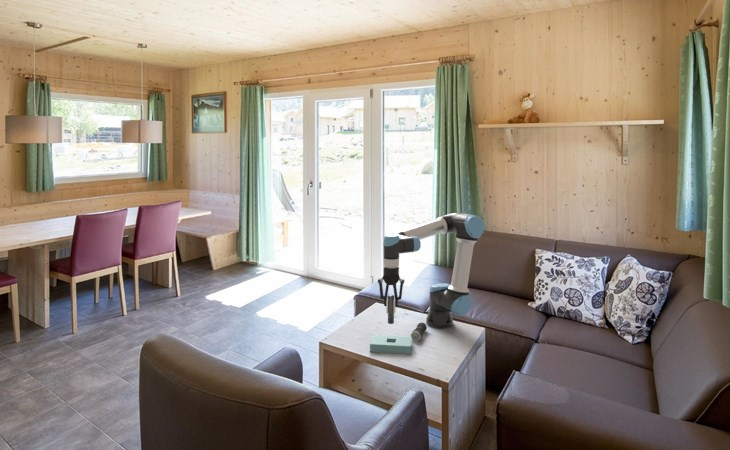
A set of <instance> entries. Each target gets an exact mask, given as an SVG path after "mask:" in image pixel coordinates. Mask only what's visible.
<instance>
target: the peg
mask: <svg viewBox="0 0 730 450" xmlns="http://www.w3.org/2000/svg"><path fill="white" fill-rule="evenodd" d="M387 299H388V313H387V324H389V325H393V324H394V323H395V314H393V311H394V299H395V296H394V294H388V295H387Z"/></svg>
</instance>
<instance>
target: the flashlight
mask: <svg viewBox="0 0 730 450" xmlns="http://www.w3.org/2000/svg"><path fill="white" fill-rule="evenodd" d="M425 332H427V323H426V322H419V323H418V324H417V325H416V328H415V329H414V330H412V331H411V333H410V337H412V341H413V342H419V341H420V340H421V339H422V337H423V334H424V333H425Z"/></svg>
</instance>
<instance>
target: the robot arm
mask: <svg viewBox="0 0 730 450" xmlns="http://www.w3.org/2000/svg"><path fill="white" fill-rule="evenodd" d="M484 232H485V223H484V221H483V219H482V218H481V217H480V216H478V215H474V214H468V213H462V212H453V213H452V212H451V213H449V214H445V215H442V216H439V217H437V218H436V219H435V220H433V221H429V222H426V223H423V224H420V225H416V226H413V227H410V228H408V229H407V228H406V229H404V230H400V231H397V232H386V233H385V235H384V237H383V274H382V277H381V278H378V279H377V283H378V286H379V287H378V288H379V295H380V299H382V300H384V301H383V306H384V307H386V308H385V309H386V310H385V313H386V314H388V295H389V288H390V286H392V287H393V293H394V294H393V295H394V311H393V314H394V315H395V314H396V308H397V307H398V306H399V305H398V304H399V300H402V297H403V289H404V288H403V287H404V283H405V280H406V279H403V278H401V277H400V267H399V266H400V254H407V253H408V254H409V253H414V252H418V251H419V250H420V249H421V247H422V245H421V244H422V243H421V240H424V239H427V238H430V237H433V236H436V235H439V234H442V235H445V234H449V233H451V234H455V239H456V241H457V245H456V252H455V257H454V265H453V269H452V277H451V282H450V283H443V282H442V283H440V282H439V283H433V284H431V285H430V287H429V310H428V313H427V315H426V316H427V317H426V320H425V321H426V322H425V324H426V326H427V325H428V326H430V327H431V328H435V329H446V328H447V329H448V328H451V327H452V326H453V325H454V320H453V316H452V315H456V316H459V317H460V316H464V315H467V313H469V312H470V310H471V308H472V305H473V300H472V297H470V290H469V288H468V284H469V278H470V271H471V265H472V258H473V251H474V246H475V244H476V243H477V242H478V240H479V238H481V237H482V235H483V234H484ZM383 282H384V283H385V292H384V287H383ZM398 282H399V284H400V285H399V293H398V288H397V283H398Z"/></svg>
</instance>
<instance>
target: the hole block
mask: <svg viewBox="0 0 730 450" xmlns="http://www.w3.org/2000/svg"><path fill="white" fill-rule="evenodd" d="M412 341H413V340H412V337H411V336H400V335H398V336H397V335H376V334H375V335H374V334H373V335H371V340H370V344H369V352H370V353H383V354H384V353H388V354H400V355H401V354H404V355H411V354H412V344H413V343H412Z"/></svg>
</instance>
